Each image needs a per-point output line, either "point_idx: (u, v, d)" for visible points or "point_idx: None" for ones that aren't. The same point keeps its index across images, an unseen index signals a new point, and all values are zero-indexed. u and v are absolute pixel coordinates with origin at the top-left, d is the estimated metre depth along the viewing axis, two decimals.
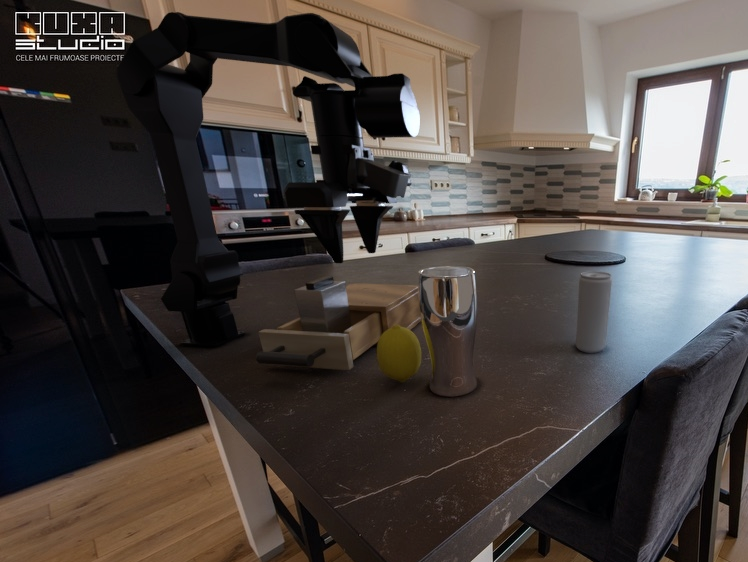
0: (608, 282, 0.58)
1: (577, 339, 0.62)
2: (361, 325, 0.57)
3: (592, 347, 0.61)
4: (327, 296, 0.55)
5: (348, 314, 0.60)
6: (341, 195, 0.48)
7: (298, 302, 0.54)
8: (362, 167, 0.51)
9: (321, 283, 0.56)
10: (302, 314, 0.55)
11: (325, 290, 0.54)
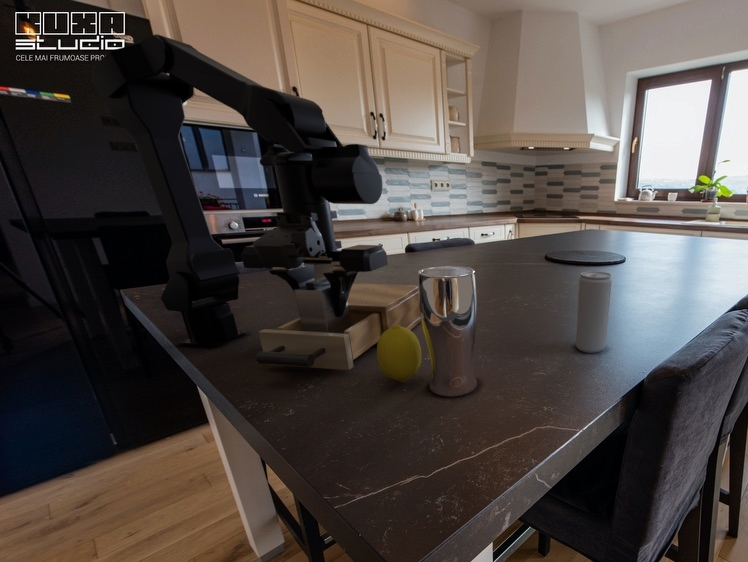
0: (608, 282, 0.58)
1: (577, 339, 0.62)
2: (361, 325, 0.57)
3: (592, 347, 0.61)
4: (327, 296, 0.55)
5: (348, 314, 0.60)
6: (255, 258, 0.53)
7: (298, 302, 0.54)
8: None
9: (321, 283, 0.56)
10: (302, 314, 0.55)
11: (325, 290, 0.54)
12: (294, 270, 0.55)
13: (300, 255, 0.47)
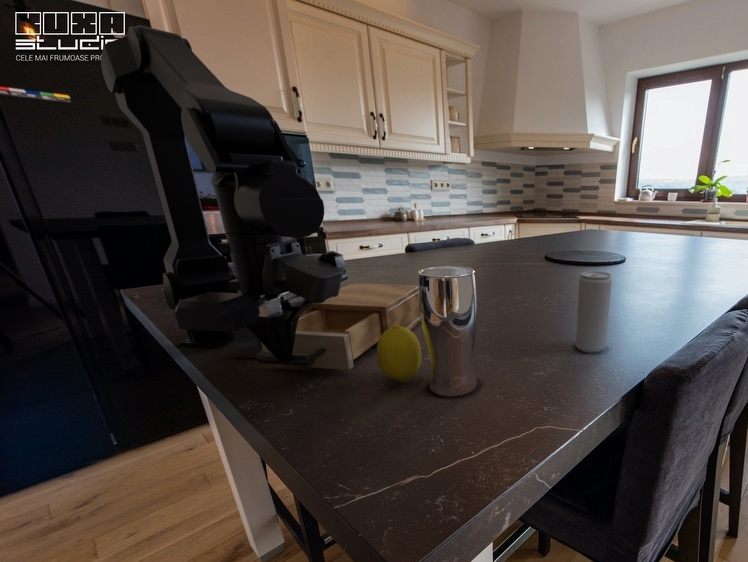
0: (608, 282, 0.58)
1: (577, 339, 0.62)
2: (361, 325, 0.58)
3: (592, 347, 0.61)
4: None
5: None
6: (248, 311, 0.39)
7: None
8: (280, 270, 0.42)
9: None
10: None
11: None
12: None
13: None
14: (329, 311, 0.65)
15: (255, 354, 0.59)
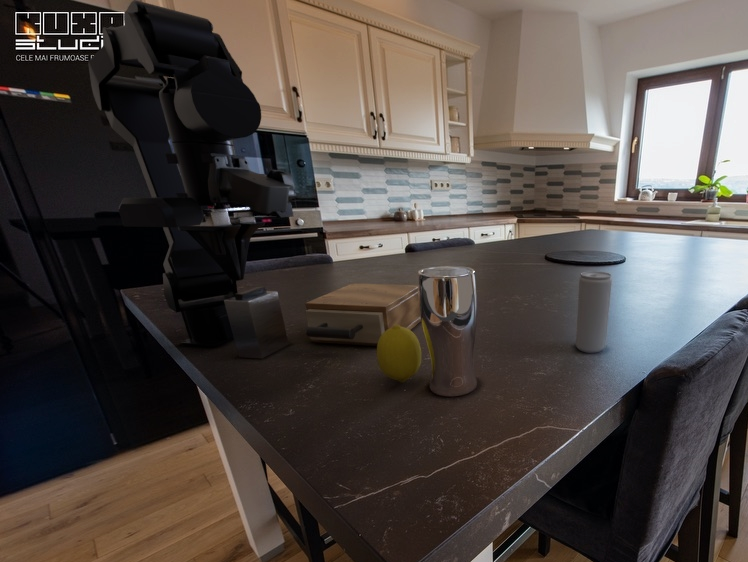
0: (608, 282, 0.58)
1: (577, 339, 0.62)
2: None
3: (592, 347, 0.61)
4: (256, 306, 0.58)
5: (282, 322, 0.63)
6: (191, 212, 0.41)
7: (228, 312, 0.57)
8: (225, 178, 0.44)
9: (251, 293, 0.59)
10: (232, 323, 0.58)
11: (253, 300, 0.57)
12: None
13: None
14: None
15: (255, 354, 0.59)
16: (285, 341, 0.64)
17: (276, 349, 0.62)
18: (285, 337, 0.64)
